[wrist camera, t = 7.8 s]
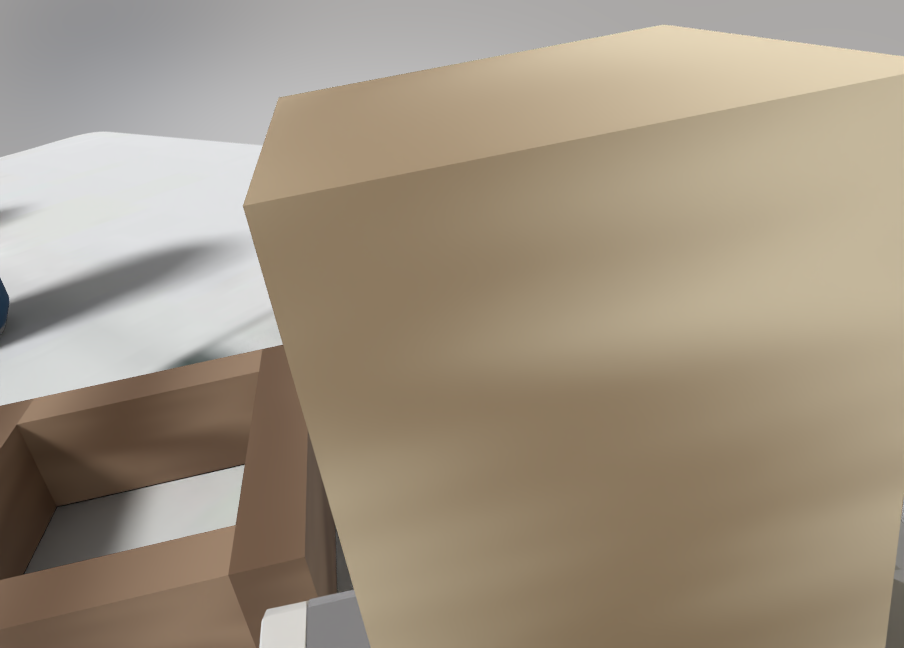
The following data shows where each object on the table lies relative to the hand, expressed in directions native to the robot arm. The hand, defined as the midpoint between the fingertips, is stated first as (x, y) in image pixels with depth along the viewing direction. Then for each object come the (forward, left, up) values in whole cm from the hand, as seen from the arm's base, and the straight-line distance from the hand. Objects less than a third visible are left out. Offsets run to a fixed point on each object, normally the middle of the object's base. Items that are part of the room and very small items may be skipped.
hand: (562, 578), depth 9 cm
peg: (0, +1, -6) cm, 6 cm away
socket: (+9, -10, -6) cm, 15 cm away
